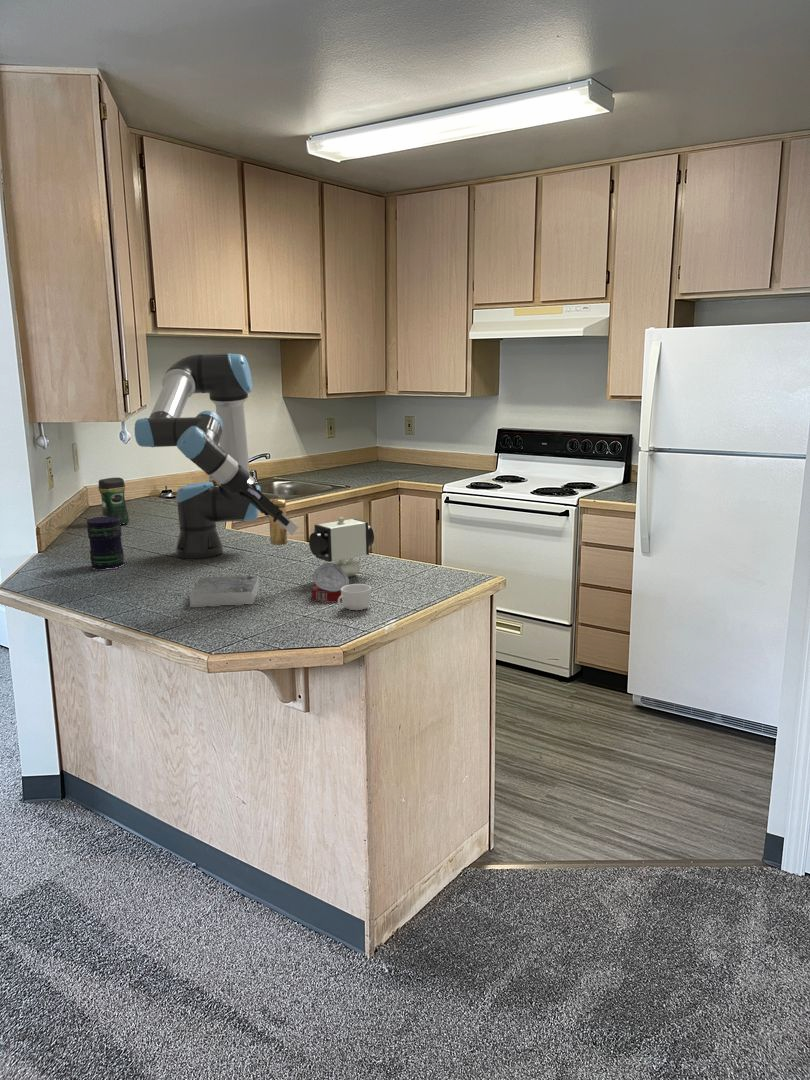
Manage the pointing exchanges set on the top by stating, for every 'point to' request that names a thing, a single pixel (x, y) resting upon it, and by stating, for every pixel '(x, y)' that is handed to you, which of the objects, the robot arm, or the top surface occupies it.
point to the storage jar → (105, 542)
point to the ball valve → (342, 543)
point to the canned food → (328, 582)
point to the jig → (224, 591)
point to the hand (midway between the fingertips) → (291, 529)
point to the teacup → (355, 596)
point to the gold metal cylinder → (278, 525)
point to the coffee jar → (113, 498)
